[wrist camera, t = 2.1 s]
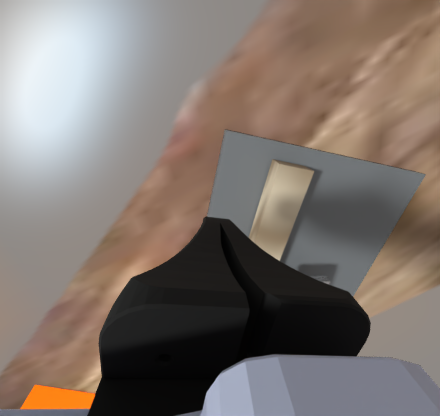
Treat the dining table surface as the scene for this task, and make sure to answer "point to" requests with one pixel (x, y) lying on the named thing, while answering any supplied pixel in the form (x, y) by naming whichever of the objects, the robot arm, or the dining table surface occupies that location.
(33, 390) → the orange juice
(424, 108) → the dining table surface
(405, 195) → the board
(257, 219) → the link
